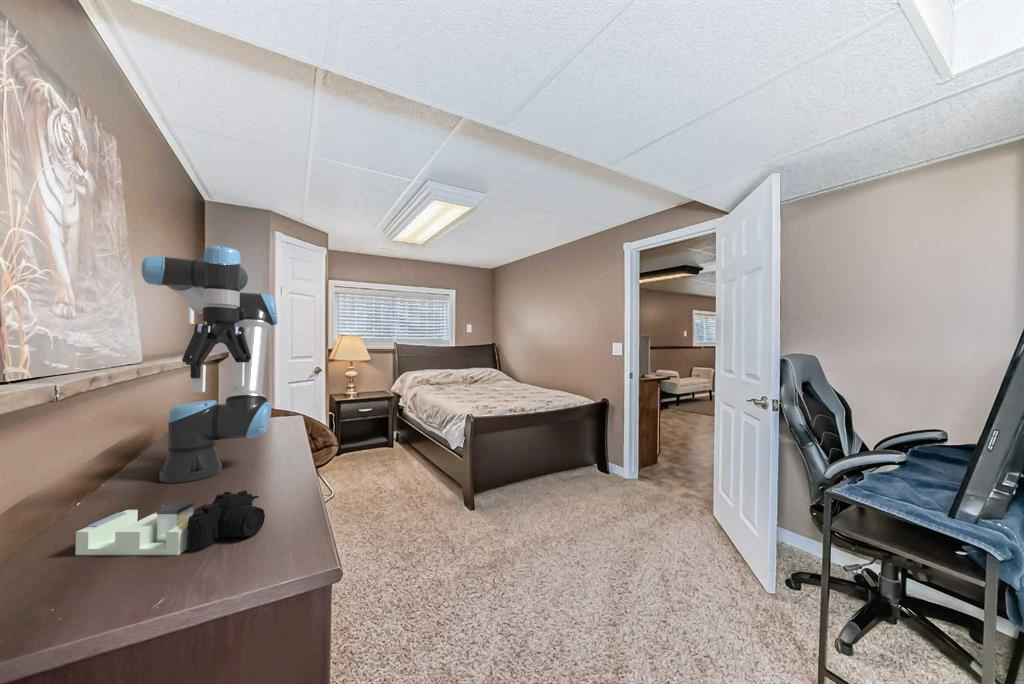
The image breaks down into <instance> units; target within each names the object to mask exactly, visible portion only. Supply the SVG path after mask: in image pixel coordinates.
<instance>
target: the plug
mask: <svg viewBox="0 0 1024 684" xmlns="http://www.w3.org/2000/svg"><path fill="white" fill-rule="evenodd" d="M194 505H195V502H194V501H174V502H171V503H169V504H167V505H165V506H162V507H161V508H159V509H156V511H155V513H156V514H157V543H166V532H167V531H169V530H171V529H173V528H175V527H176V526H178V525H180V524H182V523H184V522H185V521H187V520H189V517H191V516H192V515H194V511H193V510H194Z"/></svg>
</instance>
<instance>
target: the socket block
mask: <svg viewBox="0 0 1024 684" xmlns="http://www.w3.org/2000/svg"><path fill="white" fill-rule="evenodd" d="M138 512H139V510H138V509H126V510H124V511H121V512H116V513H113V514H112V515H109V516H107V517H104V518H103V519H100V520H97V521H95V522H93V523H91V524H88V525H87V527H84V528H82V529H80V530H79V529H78V530H77V531H76V532H75V556H179V555H181V554H182V553H183V552H185V551H188V550H187V539H188V520H187V521H185V522H184V523H182V524H180V525H178V526H176V527H175V528H173V529H171V530H169V531H167V532H166V543H157V514H156V512H154V513H152V514H149V515H148V516H146V517H143V518H141V519H140V520H138V514H139V513H138Z"/></svg>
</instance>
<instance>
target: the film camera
mask: <svg viewBox="0 0 1024 684" xmlns="http://www.w3.org/2000/svg"><path fill="white" fill-rule="evenodd" d="M258 498H260V497H259V496H258V495H252V494H251V493H248V491H247V490H241V491H238V492H237V493H232V492H231V491H224V492H223V493H221V494H217V495H216V496H215V499H214V500H213V501H212V503H209V504H207V503H205V504H202V505H201V506H198V507H197V508H195V509H194V511H193V515H192V516H191V517H189V520H188V539H187V550H186V551H187V552H188V553H198V552H201V551H203V550H205V549H207V548H209V547H211V546H213V545H215V544H216V543H218V542H219V541H222V540H223V539H226V538H227V539H230V538H232V537H236V538H247V537H253V536H255V535H256V534H258V533H259V532H260V531H261V529H262V527H263V525H264V523H265V519H266V515H265V510H264V509H263V508H261V507H258V506H255V505H254V506H253V501H254V500H255V499H258Z"/></svg>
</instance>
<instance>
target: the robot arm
mask: <svg viewBox="0 0 1024 684" xmlns="http://www.w3.org/2000/svg"><path fill="white" fill-rule="evenodd" d="M203 254H204V255H203V258H202V260H198V259H189V258H178V257H170V256H164V255H163V256H158V255H157V256H155V255H148V256H146V257H144V259H143V260H142V263H141V269H140V270H141V275H142V278H143V280H144V282H145V283H147V284H148V285H155V286H166V287H168V288H169V289H170V290H171V291H173V292H174V293H175V294H177V295H178V296H180V297H181V299H183V300H184V301H185V302H187V303H188V306H189V308H190V309H191V310H192V311H193V312H194V313H196V314H198V315H200V316H201V317H202V321H204V322H206V324H205V323H200V324H199V323H196V324H195V325H194V328H193V329H194V330H193V335H192V336H191V339H190V341H189V343H188V345H187V348H186V350H185V353H184V354H183V356H182V359H181V361H182V363H185V365H187V366H188V365H190V370H189V371H190V375H189V376H190V379H191V382H190V383H191V386H190V387H191V388H190V390H191V391H190V392H191V393H206V375H207V374H206V369H207V366H206V364H203V363H204V362H205V360H207V358H208V356H209V355H210V354H211V352H212V350H214V347H215V346H216V345H219V344H223V345H225V347H226V348H227V349H228V352H229V353H230V354H231V357H232V359H233V360H234V361H235V362H234V361H233V362H232V377H231V378H232V382H231V383H232V384H231V385H232V392H231V394H230V395H228V396H227V397H226V398H225V403H223V404H222V403H221V404H220V403H219V404H218V402H217V400H216V399H210V400H209V399H208V400H200V401H193V402H187V403H183V404H179V405H177V406H174V407H172V408H171V409H170V410H169V413H168V414H169V415H168V420H167V423H168V427H167V428H168V429H167V430H168V431H167V432H168V434H167V436H168V437H167V438H168V440H167V441H168V442H167V455H166V458H165V460H164V462H163V465H162V468H161V469H160V472H159V482H161V483H166V484H175V483H176V484H177V483H185V482H186V483H187V482H192V481H198V480H202V479H206V478H210V477H212V476H213V477H214V476H215V475H218V474H220V473H221V472H222V467H223V463H222V461H221V459H220V456H219V453H218V451H217V448H216V441H225V440H234V439H236V440H237V439H251V438H257V437H261V436H264V435H265V434H266V432H267V431H268V428H269V424H270V421H271V415H272V409H273V408H272V407H273V406H272V403H271V402H270V401H268V397H267V396H266V395H265V394H264V393H263V390H264V389H263V388H264V378H265V377H264V376H265V364H266V363H265V362H266V352H267V351H266V350H267V340H268V339H267V338H268V337H267V336H268V333H269V332H271V331H272V330H273V326H275V325H278V312H277V305H276V300H275V296H273V295H272V294H268V293H261V292H259V293H255V292H250V293H249V292H240V291H243V290H244V289H245V288H247V286H248V285H249V283H250V278H249V274H248V273H247V271H246V269H245V268H244V267H242V266H241V264H242V260H241V252H240V251H239V250H237V249H234V248H232V247H226V246H219V245H212V246H206V247H205V249H204V253H203Z"/></svg>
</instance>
